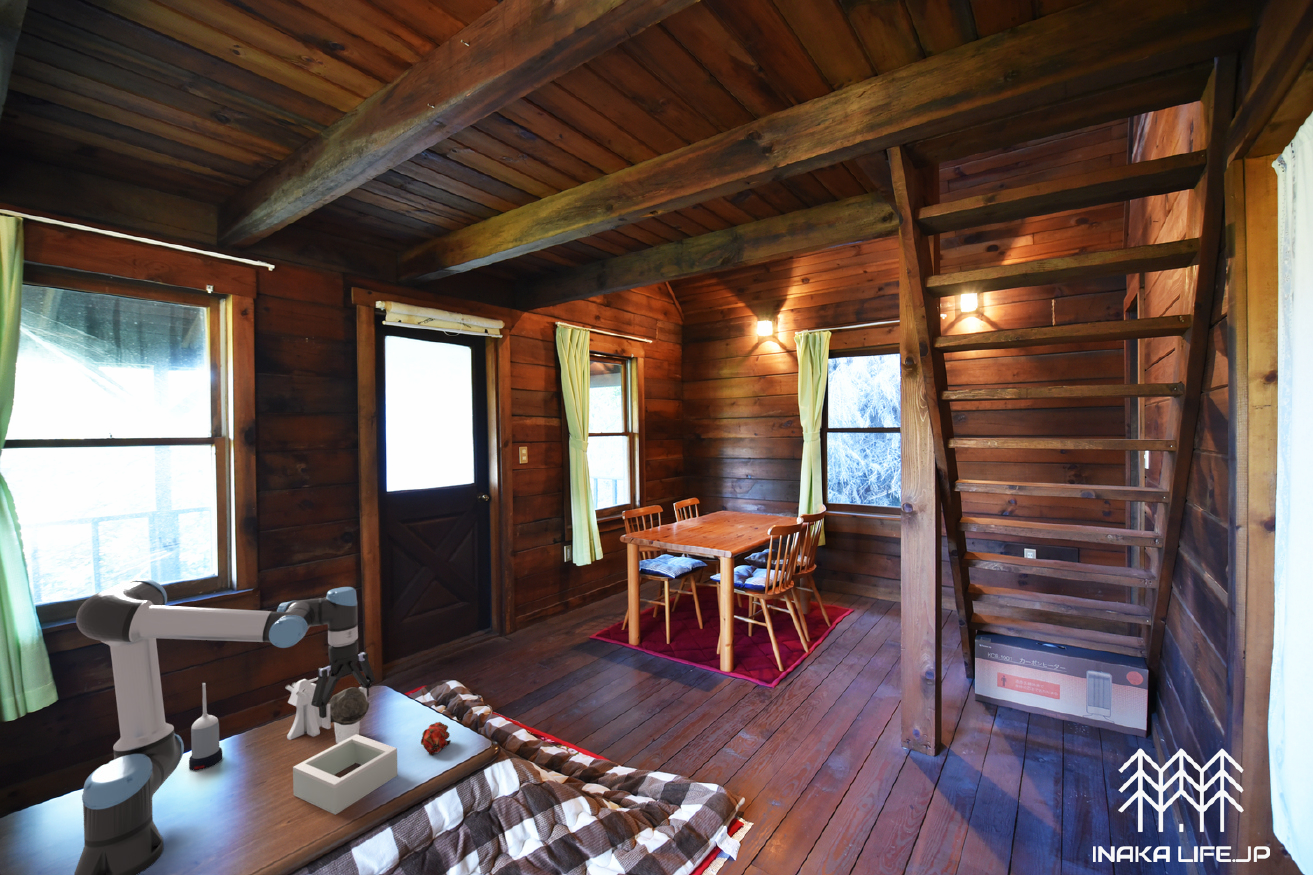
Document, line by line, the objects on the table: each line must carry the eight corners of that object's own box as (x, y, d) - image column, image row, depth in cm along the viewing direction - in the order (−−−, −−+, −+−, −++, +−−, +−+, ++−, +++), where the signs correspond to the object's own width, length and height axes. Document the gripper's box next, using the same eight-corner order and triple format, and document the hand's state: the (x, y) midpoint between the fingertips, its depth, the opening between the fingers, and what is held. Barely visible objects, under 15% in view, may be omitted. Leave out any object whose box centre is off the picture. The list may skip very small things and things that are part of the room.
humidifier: (193, 773, 167) (191, 691, 167) (185, 764, 172) (183, 684, 172) (226, 760, 174) (224, 681, 174) (218, 752, 179) (216, 675, 179)
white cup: (335, 736, 187) (334, 706, 187) (361, 730, 190) (360, 701, 190) (332, 747, 180) (331, 717, 180) (360, 741, 183) (359, 711, 183)
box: (335, 814, 147) (334, 784, 147) (293, 795, 156) (292, 766, 156) (397, 775, 164) (396, 748, 164) (356, 759, 173) (356, 733, 173)
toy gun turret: (338, 725, 194) (336, 674, 194) (297, 743, 183) (295, 689, 183) (320, 717, 200) (319, 667, 200) (279, 734, 189) (278, 681, 189)
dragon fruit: (438, 743, 184) (438, 768, 173) (415, 734, 181) (413, 758, 169) (454, 721, 185) (454, 744, 173) (431, 711, 181) (430, 734, 170)
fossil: (349, 728, 153) (333, 696, 154) (325, 741, 155) (309, 709, 156) (377, 708, 164) (362, 678, 165) (354, 720, 166) (339, 690, 166)
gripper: (311, 658, 148) (313, 741, 148) (387, 631, 168) (389, 703, 168) (294, 654, 151) (296, 734, 151) (371, 627, 172) (373, 698, 172)
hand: (345, 718), depth 160 cm, fingers closed on fossil, 10 cm apart
